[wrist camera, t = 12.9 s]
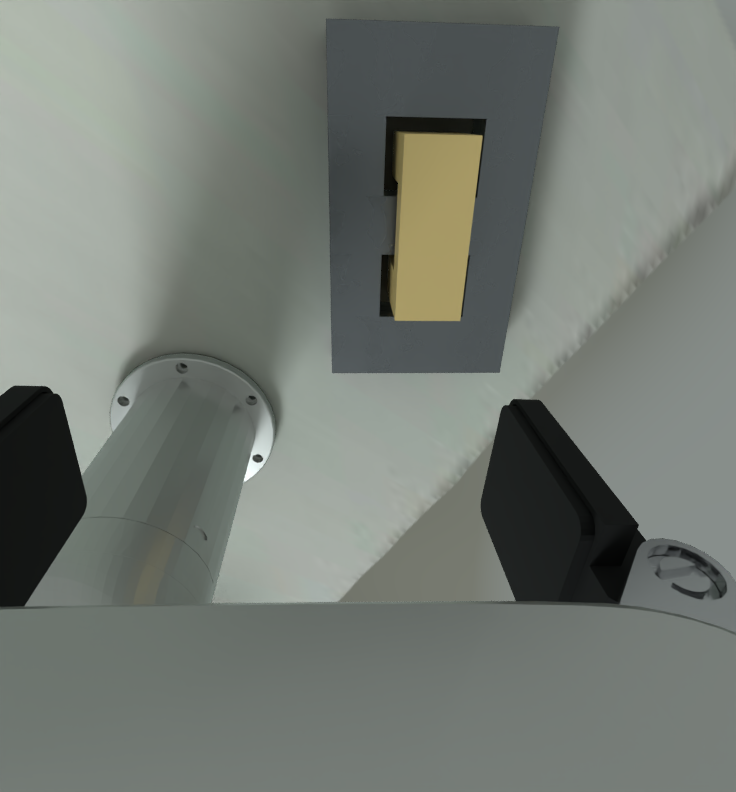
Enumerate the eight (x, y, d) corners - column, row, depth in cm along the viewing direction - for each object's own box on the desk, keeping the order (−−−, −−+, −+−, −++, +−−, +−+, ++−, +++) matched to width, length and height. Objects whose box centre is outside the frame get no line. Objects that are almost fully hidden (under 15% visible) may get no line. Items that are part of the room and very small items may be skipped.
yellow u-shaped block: (442, 290, 35) (460, 321, 30) (386, 290, 35) (395, 320, 30) (458, 132, 30) (482, 135, 25) (393, 130, 30) (404, 133, 25)
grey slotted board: (488, 354, 38) (499, 372, 35) (332, 355, 37) (332, 373, 35) (538, 35, 28) (559, 26, 25) (327, 27, 27) (326, 18, 25)
